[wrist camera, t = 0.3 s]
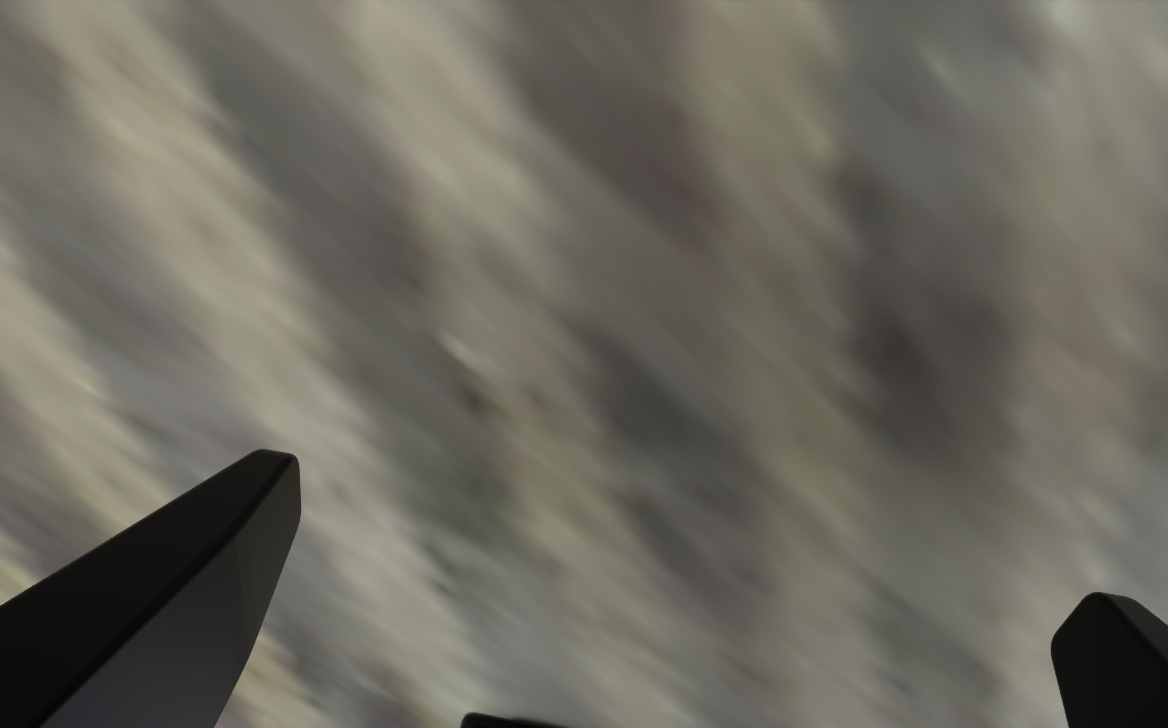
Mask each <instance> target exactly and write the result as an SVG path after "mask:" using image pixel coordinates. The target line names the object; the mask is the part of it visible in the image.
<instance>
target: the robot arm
mask: <svg viewBox="0 0 1168 728" xmlns="http://www.w3.org/2000/svg"><path fill="white" fill-rule="evenodd" d="M300 516H301V491H300V470H299V462H298V459H297V457H296V456H294V455H293V454H290V453H285V452H279V451H273V450H267V449H259V450H256V451H253V452H251V453H250V454H248V455H246V456H245V457H243V458H241V459H240V460H238V461H237V462H235V463H233V464H232V465H230V466H228V467H227V468H225V469H223V470H222V471H220V472H218V473H217V474H215V475H214V476H212V477H210V478H209V479H207V480H205V481H204V482H202V483H200V484H199V485H197V486H196V487H194V488H192V489H191V490H189V491H187V492H186V493H184V494H182V495H181V496H179V497H178V498H176V499H174V500H173V501H171V502H169V503H168V504H166V505H164V506H163V507H161V508H160V509H158V510H156V511H155V512H153V513H151V514H150V515H148V516H146V517H145V518H143V519H141V520H140V521H138V522H137V523H135V524H133V525H132V526H130V527H128V528H127V529H125V530H123V531H122V532H120V533H119V534H117V535H115V536H114V537H112V538H110V539H109V540H107V541H105V542H104V543H102V544H101V545H99V546H97V547H96V548H94V549H92V550H91V551H89V552H87V553H86V554H84V555H83V556H81V557H79V558H78V559H76V560H74V561H73V562H71V563H69V564H68V565H66V566H64V567H63V568H61V569H60V570H58V571H56V572H55V573H53V574H51V575H50V576H48V577H46V578H45V579H43V580H42V581H40V582H38V583H37V584H35V585H33V586H32V587H30V588H28V589H27V590H25V591H24V592H22V593H20V594H19V595H17V596H15V597H14V598H12V599H10V600H9V601H7V602H6V603H4V604H2V605H1V606H0V728H214V726H215V724H216V723H217V721H218V719H219V717H220V715H221V713H222V711H223V709H224V707H225V705H226V703H227V701H228V699H229V697H230V695H231V693H232V691H233V689H234V687H235V685H236V683H237V681H238V679H239V677H240V675H241V673H242V671H243V669H244V667H245V665H246V662H247V660H248V658H249V656H250V654H251V651H252V649H253V646H254V644H255V641H256V639H257V636H258V633H259V631H260V628H261V625H262V623H263V620H264V617H265V615H266V612H267V609H268V607H269V604H270V601H271V599H272V596H273V593H274V591H275V588H276V585H277V583H278V580H279V577H280V575H281V572H282V569H283V567H284V564H285V561H286V559H287V556H288V553H289V551H290V548H291V545H292V543H293V540H294V537H295V535H296V532H297V529H298V525H299V522H300ZM1051 657H1052V662H1053V666H1054V670H1055V674H1056V678H1057V682H1058V686H1059V690H1060V694H1061V698H1062V702H1063V706H1064V710H1065V714H1066V718H1067V722H1068V726H1069V728H1168V625H1167V624H1165V623H1164V622H1163V621H1162V620H1160V619H1159V618H1158V617H1156V616H1155V615H1154V614H1153V613H1151V612H1150V611H1149V610H1148V609H1146V608H1145V607H1144V606H1142V605H1141V604H1140V603H1138V602H1137V601H1135V600H1133V599H1131V598H1129V597H1125V596H1120V595H1114V594H1108V593H1102V592H1093V593H1091V594H1089V595H1087V596H1086V597H1084V598H1083V599H1082V601H1081V602H1080V603H1079V604H1078V606H1077V607H1076V608H1075V609H1074V610H1073V612H1072V613H1071V614H1070V615H1069V617H1068V618H1067V619H1066V620H1065V622H1064V623H1063V624H1062V625H1061V626H1060V628H1059V629H1058V630H1057V631H1056V633H1055V634H1054V636H1053V639H1052V642H1051ZM460 728H530V727H525V726H520V725H515V724H510V723H505V722H500V721H495V720H490V719H485V718H480V717H475V716H468V717H465V718H464V719H463V720H462V723H461V726H460Z"/></svg>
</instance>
